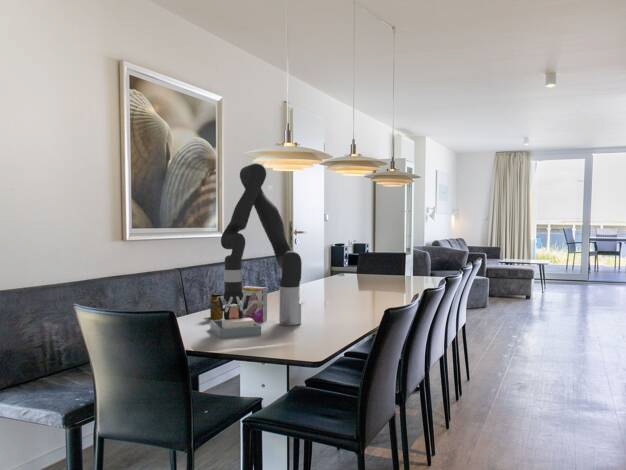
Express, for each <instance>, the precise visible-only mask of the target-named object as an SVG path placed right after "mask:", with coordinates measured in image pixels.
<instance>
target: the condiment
mask: <svg viewBox="0 0 626 470" xmlns="http://www.w3.org/2000/svg"><path fill="white" fill-rule="evenodd" d="M218 296H219V297H220V296H223V293H220V292H214V293H211V294H210V300H209V301H210V302H209V303H210V305H209V306H210V311H209V313H210V315H209V317H208V316H207V317H204V319H205V320H207V321H215V320H225V319H224V311H221V310H220V309H219V305H218V301H217V297H218ZM222 305H223V306H224V300H223V301H222Z"/></svg>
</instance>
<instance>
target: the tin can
mask: <svg viewBox="0 0 626 470" xmlns="http://www.w3.org/2000/svg"><path fill="white" fill-rule="evenodd" d="M227 312H228V320H231V319H239V306H238V305H237V304H232V305H230V307H229V309H228V311H227Z"/></svg>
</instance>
